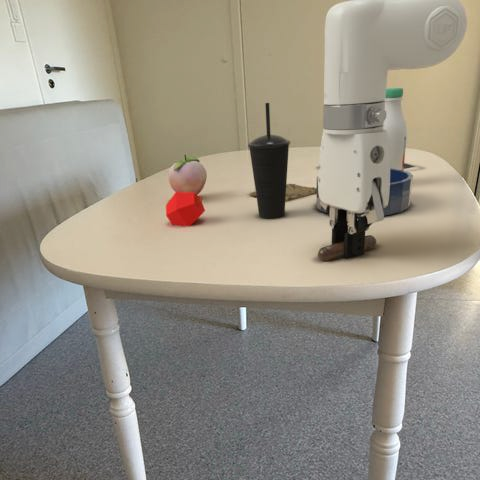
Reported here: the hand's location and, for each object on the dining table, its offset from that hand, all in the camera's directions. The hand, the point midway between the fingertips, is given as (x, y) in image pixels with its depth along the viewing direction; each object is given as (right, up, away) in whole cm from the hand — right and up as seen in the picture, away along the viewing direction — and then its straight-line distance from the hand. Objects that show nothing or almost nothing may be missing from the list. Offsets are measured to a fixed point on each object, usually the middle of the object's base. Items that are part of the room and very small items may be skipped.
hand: (347, 254), depth 65 cm
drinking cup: (-10, +10, +21) cm, 25 cm away
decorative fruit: (-28, +18, +39) cm, 51 cm away
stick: (0, 0, 0) cm, 0 cm away
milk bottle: (+17, +20, +36) cm, 45 cm away
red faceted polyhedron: (-26, +9, +21) cm, 35 cm away
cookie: (-5, +19, +36) cm, 41 cm away
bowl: (+8, +13, +22) cm, 27 cm away
